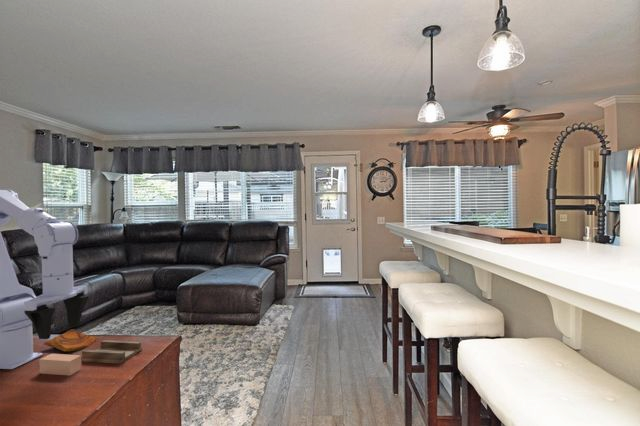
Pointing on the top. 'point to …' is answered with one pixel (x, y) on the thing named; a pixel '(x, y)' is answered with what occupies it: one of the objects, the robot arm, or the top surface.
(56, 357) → the clay strip
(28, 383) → the top surface
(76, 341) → the pottery fragment
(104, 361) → the grey u-channel
